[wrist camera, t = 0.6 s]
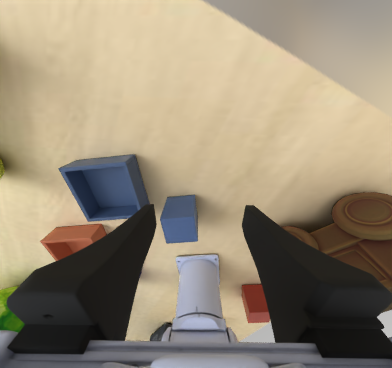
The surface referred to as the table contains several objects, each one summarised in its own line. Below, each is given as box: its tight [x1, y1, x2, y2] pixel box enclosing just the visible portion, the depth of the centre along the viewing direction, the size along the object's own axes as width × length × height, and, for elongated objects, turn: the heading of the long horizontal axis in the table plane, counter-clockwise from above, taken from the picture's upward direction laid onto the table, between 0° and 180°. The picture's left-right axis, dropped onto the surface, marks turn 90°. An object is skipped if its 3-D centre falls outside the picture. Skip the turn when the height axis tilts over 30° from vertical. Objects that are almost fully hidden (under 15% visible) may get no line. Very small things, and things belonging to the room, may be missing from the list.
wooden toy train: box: [282, 192, 392, 313], centre depth 18 cm, size 20×11×17 cm, turn 126°
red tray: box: [40, 224, 107, 261], centre depth 26 cm, size 8×8×3 cm
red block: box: [242, 284, 270, 323], centre depth 32 cm, size 4×4×5 cm
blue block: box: [160, 195, 198, 243], centre depth 21 cm, size 4×4×5 cm
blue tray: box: [58, 154, 149, 222], centre depth 20 cm, size 8×8×3 cm
